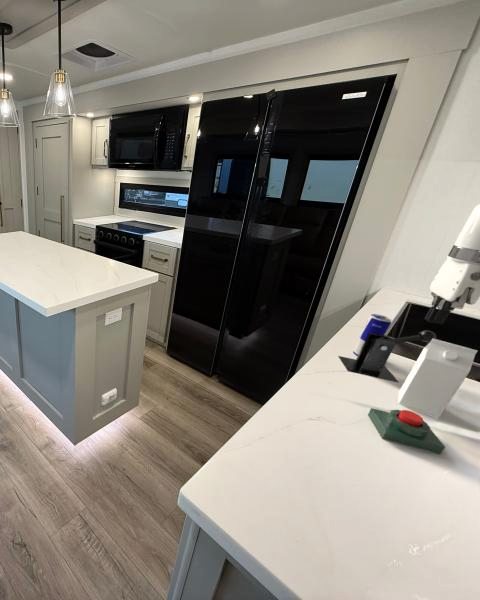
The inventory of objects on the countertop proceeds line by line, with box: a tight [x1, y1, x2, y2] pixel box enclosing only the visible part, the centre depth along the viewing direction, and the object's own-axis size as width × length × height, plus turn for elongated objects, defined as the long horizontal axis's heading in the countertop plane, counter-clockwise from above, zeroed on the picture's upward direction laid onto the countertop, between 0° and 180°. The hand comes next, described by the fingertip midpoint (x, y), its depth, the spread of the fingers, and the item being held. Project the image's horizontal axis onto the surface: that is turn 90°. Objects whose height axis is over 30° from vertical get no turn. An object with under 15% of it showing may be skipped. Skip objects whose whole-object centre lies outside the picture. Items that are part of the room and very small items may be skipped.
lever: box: [371, 329, 437, 344], centre depth 87 cm, size 13×3×3 cm, turn 67°
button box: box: [367, 407, 446, 455], centre depth 70 cm, size 10×8×4 cm
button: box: [398, 409, 424, 428], centre depth 69 cm, size 4×4×2 cm
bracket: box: [337, 333, 400, 384], centre depth 91 cm, size 12×9×12 cm
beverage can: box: [352, 313, 393, 357], centre depth 97 cm, size 5×5×15 cm
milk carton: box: [397, 338, 478, 419], centre depth 76 cm, size 7×7×19 cm
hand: (433, 321), depth 83 cm, fingers closed
